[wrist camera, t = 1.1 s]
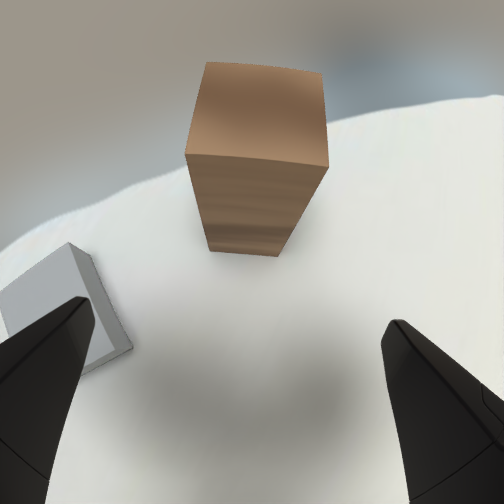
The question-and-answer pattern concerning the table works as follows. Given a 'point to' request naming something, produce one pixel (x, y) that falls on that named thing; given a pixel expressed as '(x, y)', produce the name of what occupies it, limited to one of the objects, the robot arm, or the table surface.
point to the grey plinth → (60, 291)
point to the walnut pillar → (256, 154)
